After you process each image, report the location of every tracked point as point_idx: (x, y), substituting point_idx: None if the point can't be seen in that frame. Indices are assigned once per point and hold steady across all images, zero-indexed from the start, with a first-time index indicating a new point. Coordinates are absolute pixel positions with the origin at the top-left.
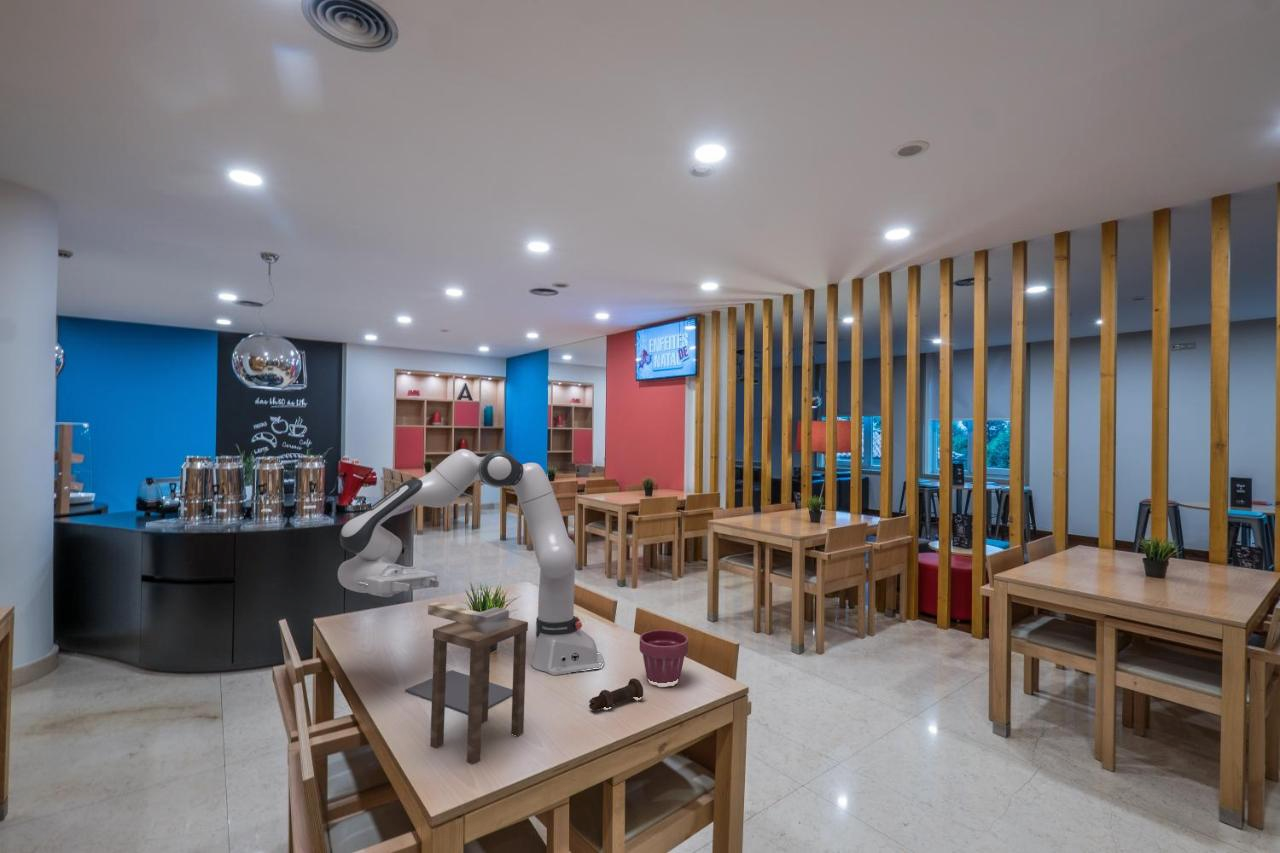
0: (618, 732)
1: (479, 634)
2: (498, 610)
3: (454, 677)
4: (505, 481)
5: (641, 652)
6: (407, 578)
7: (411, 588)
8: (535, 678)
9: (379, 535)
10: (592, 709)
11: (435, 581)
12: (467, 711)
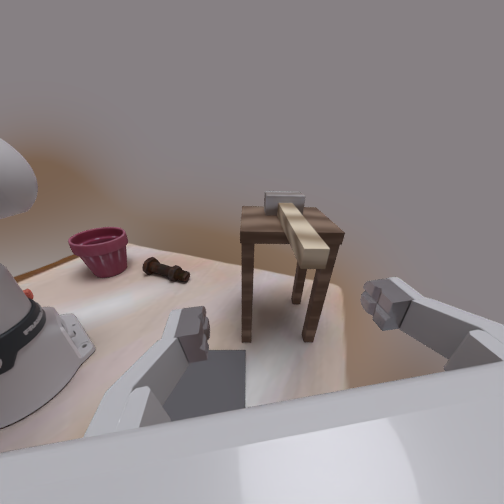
0: (209, 263)
1: (303, 211)
2: (274, 193)
3: None
4: None
5: (112, 252)
6: (390, 382)
7: (365, 294)
8: (107, 365)
9: None
10: (188, 278)
11: (201, 306)
12: (243, 361)
